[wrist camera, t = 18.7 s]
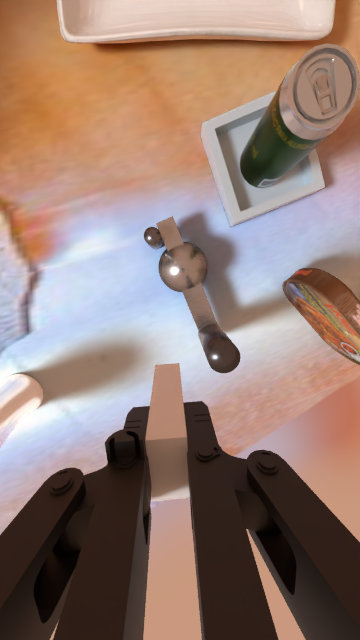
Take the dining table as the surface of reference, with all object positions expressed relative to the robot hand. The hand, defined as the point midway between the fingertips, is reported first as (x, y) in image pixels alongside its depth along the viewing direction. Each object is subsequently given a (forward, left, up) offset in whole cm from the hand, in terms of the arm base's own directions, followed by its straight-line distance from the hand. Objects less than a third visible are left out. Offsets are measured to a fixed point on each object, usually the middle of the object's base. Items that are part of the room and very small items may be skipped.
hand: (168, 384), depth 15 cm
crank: (-4, +4, -15) cm, 16 cm away
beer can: (-14, +17, -17) cm, 28 cm away
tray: (-14, +17, -17) cm, 28 cm away
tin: (+6, +19, -18) cm, 27 cm away
